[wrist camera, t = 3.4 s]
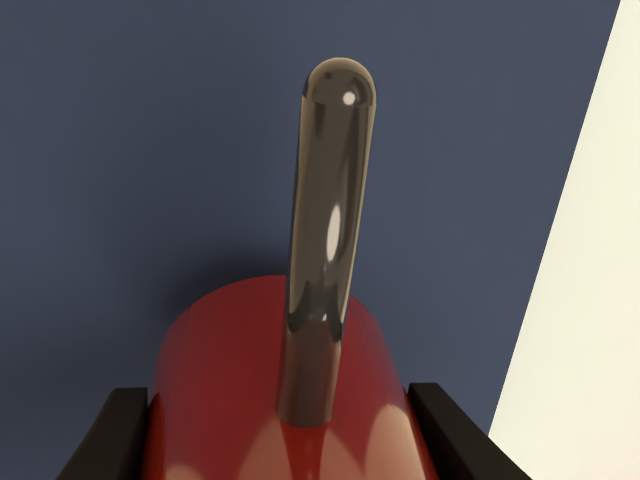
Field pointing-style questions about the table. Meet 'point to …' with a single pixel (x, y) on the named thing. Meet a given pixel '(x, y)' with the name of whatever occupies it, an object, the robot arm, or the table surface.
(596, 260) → the table surface
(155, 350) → the cloth
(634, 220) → the table surface
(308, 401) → the pot
